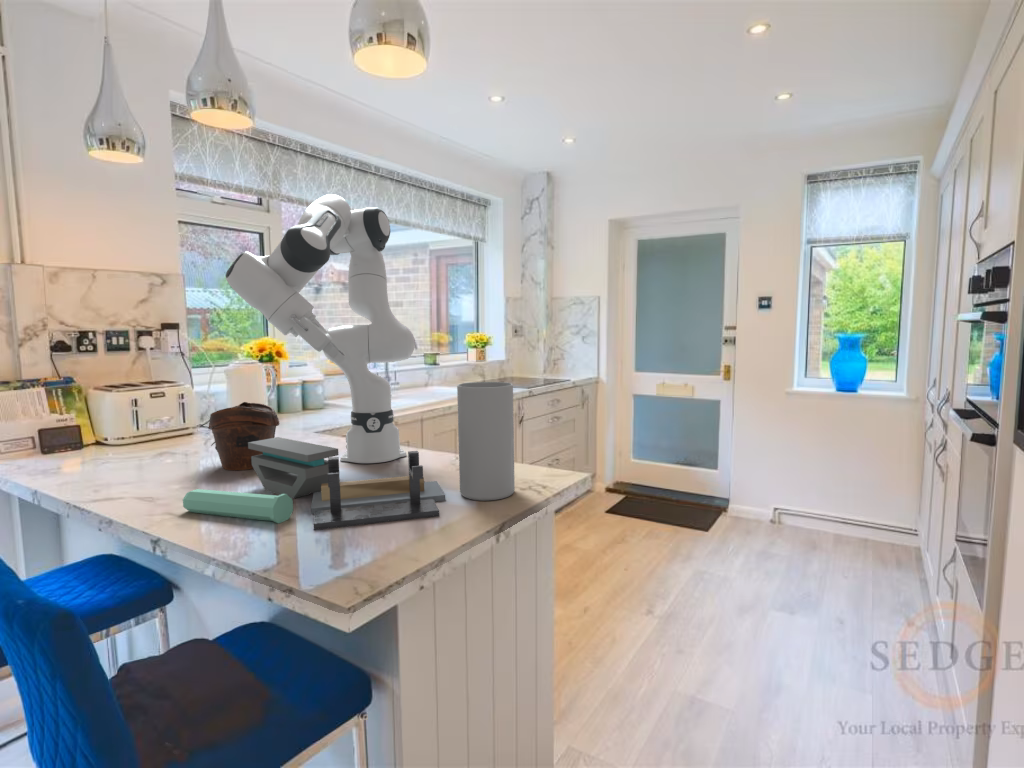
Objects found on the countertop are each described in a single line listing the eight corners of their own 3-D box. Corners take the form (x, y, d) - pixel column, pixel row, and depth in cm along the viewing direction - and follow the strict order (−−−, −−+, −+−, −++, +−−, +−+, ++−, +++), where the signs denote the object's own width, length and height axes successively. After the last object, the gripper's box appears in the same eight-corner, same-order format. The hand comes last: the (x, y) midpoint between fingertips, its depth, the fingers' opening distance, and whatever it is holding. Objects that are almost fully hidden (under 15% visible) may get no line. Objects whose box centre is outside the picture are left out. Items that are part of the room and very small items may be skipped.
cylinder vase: (521, 487, 133) (519, 382, 130) (504, 503, 121) (502, 388, 119) (472, 484, 137) (469, 381, 134) (451, 499, 125) (448, 387, 122)
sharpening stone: (250, 486, 138) (247, 442, 137) (280, 478, 145) (277, 437, 143) (310, 504, 123) (307, 455, 122) (340, 495, 130) (338, 448, 128)
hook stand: (315, 516, 115) (312, 458, 114) (433, 504, 122) (431, 449, 120) (313, 529, 107) (310, 468, 106) (439, 516, 114) (437, 457, 113)
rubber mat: (314, 497, 128) (313, 492, 128) (436, 485, 136) (436, 480, 136) (311, 514, 116) (310, 508, 116) (445, 500, 124) (445, 494, 124)
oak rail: (322, 497, 124) (321, 483, 124) (422, 487, 130) (422, 474, 130) (321, 501, 121) (321, 487, 121) (424, 491, 127) (423, 478, 127)
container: (180, 484, 119) (276, 492, 110) (203, 488, 124) (296, 495, 116) (173, 513, 117) (269, 523, 109) (196, 515, 122) (290, 525, 114)
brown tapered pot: (261, 453, 174) (256, 396, 172) (294, 463, 161) (290, 401, 159) (199, 466, 160) (194, 403, 158) (230, 477, 147) (225, 410, 145)
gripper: (300, 303, 113) (353, 351, 117) (307, 307, 133) (351, 347, 137) (278, 326, 113) (331, 373, 116) (287, 326, 132) (333, 366, 136)
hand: (342, 359), depth 127 cm, fingers open, 8 cm apart
